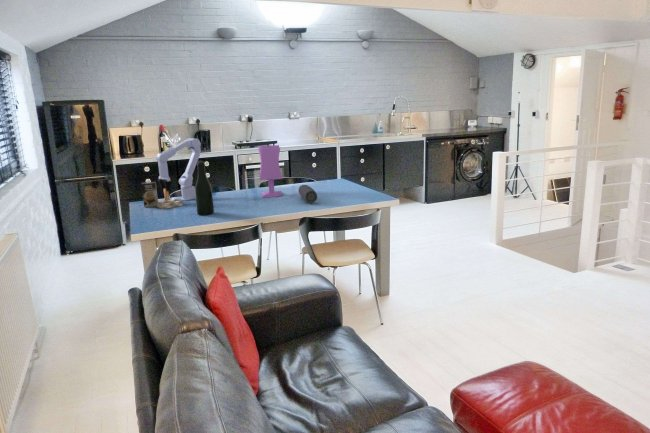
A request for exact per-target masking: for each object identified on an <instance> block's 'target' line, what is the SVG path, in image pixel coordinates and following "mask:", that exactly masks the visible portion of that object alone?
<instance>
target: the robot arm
mask: <svg viewBox="0 0 650 433" xmlns="http://www.w3.org/2000/svg"><path fill="white" fill-rule="evenodd" d="M201 145H202V142H201V141H200V139H199V138H192V137H188V138H186V139H184V140H183V141H182V142H180V143H179V144H177V145H176V146H174V147H167V149H165V150H163V151H162V152H159V153H157V155H156V157H155V158H156V159H155V160H156V161H157V165H158V173H159V176H158V180H157V182H158V183H159V186H160V188H161V190H162V191H164V189H165V188H166V191H168V192H170V191H171V185H172V183H173V181H172V180H171V178H170V175H169V168H168V163H167V162H168V160H169V159H170V158H172V157H174V156H176V155H177V152H179V151H181V150H183V149H185V148H187V147H188V148H189V149H190V150H191V152H192V153H191V156H190V158H189V161H188V163H187V165H186V167H185V171H184V173H183V174H182V175H181V177H180V178H178V184H179V185H180V191H181V197H180V198H179V200H181V201H184V202H185V201H190V200H196V195H195V187H196V186H194V185H193V180H194V177H193V174H194V172H195V169H196V166H197V164H198V161H199V158H200V155H201V154H202V151H201V150H202V149H201Z"/></svg>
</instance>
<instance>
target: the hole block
mask: <svg viewBox="0 0 650 433" xmlns="http://www.w3.org/2000/svg"><path fill="white" fill-rule="evenodd" d="M183 201H184V200H181V199H178V198H174V199H173V198H172V199H169V200H167V201H165V200H163V201H158V202H157V206H156V207H157V208H159V209H162V210H166V209H170V208H175V207H181V206H184V204H183V203H184V202H183Z"/></svg>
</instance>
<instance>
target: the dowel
mask: <svg viewBox="0 0 650 433" xmlns="http://www.w3.org/2000/svg"><path fill="white" fill-rule="evenodd" d="M163 195H164V201H167V200H170V191H166V187H165V189H164V190H163Z"/></svg>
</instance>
